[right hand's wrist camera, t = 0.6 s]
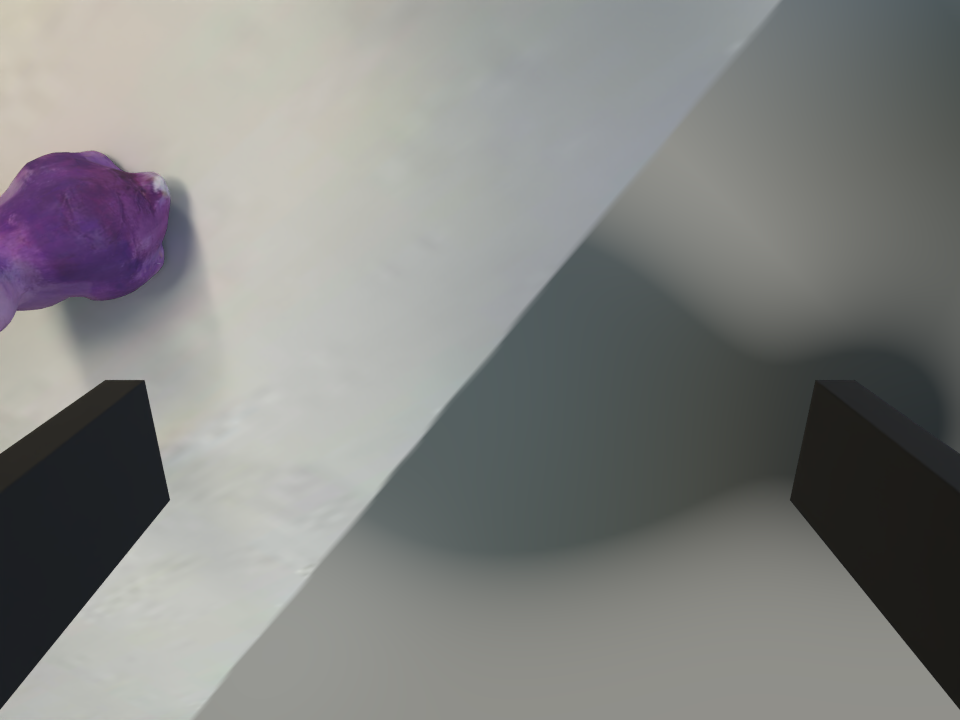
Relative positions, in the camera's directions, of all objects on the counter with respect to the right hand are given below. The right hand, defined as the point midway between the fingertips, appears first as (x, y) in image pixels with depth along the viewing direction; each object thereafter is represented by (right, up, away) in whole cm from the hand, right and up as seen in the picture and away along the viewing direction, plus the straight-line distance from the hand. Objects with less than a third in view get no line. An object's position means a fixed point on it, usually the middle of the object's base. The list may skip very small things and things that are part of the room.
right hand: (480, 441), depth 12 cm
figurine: (-23, +9, +26) cm, 36 cm away
